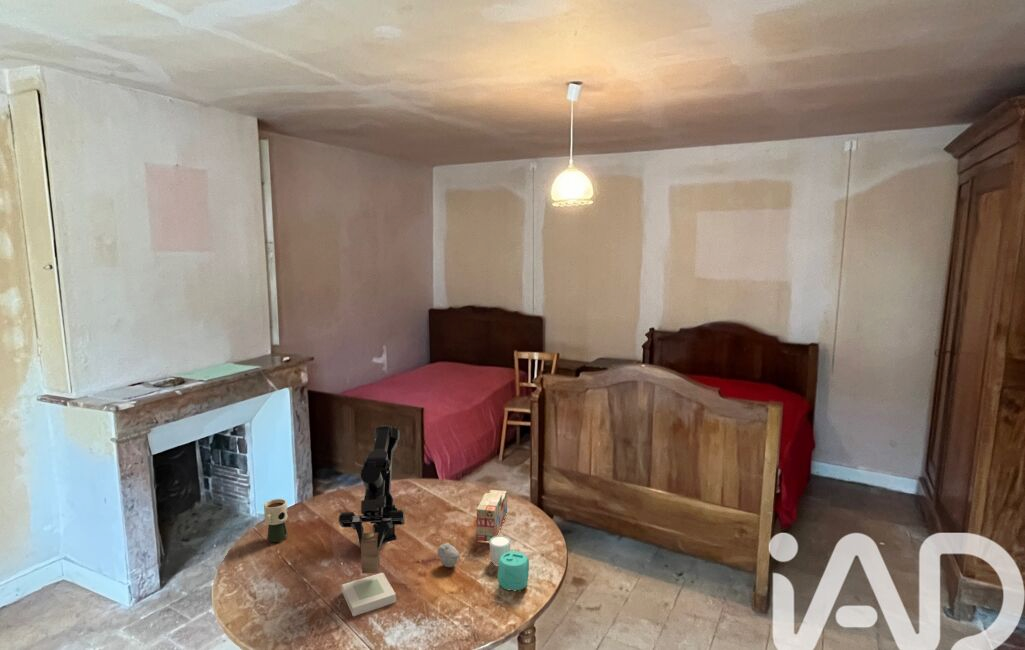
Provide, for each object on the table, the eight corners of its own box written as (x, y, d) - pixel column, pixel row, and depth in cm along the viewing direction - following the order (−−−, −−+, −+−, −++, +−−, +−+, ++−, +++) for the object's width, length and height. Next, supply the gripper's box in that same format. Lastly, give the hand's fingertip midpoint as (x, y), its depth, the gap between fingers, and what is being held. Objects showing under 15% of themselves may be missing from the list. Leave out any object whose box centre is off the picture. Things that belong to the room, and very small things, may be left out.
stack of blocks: (490, 513, 208) (490, 481, 206) (507, 514, 207) (507, 483, 205) (476, 543, 187) (476, 508, 185) (494, 544, 186) (494, 510, 184)
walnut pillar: (364, 564, 164) (363, 531, 163) (379, 564, 165) (378, 530, 163) (362, 573, 160) (360, 539, 159) (377, 572, 161) (376, 538, 159)
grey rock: (444, 558, 178) (444, 537, 177) (463, 563, 175) (463, 542, 174) (433, 568, 172) (433, 547, 171) (453, 573, 169) (452, 552, 168)
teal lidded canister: (524, 593, 160) (524, 567, 159) (497, 590, 162) (497, 564, 160) (529, 576, 168) (529, 552, 167) (503, 574, 169) (502, 549, 168)
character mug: (279, 548, 184) (277, 511, 182) (259, 547, 184) (256, 510, 182) (295, 531, 195) (293, 496, 193) (275, 530, 195) (273, 495, 193)
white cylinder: (514, 558, 178) (514, 538, 177) (505, 569, 171) (505, 548, 170) (495, 553, 180) (495, 533, 179) (485, 564, 174) (485, 543, 173)
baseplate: (383, 580, 166) (382, 572, 166) (396, 602, 156) (395, 593, 156) (342, 592, 160) (341, 584, 160) (353, 616, 150) (352, 607, 150)
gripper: (338, 487, 163) (331, 542, 154) (402, 484, 165) (399, 538, 156) (345, 500, 172) (339, 553, 163) (406, 497, 174) (403, 549, 165)
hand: (369, 548), depth 161 cm, fingers closed on walnut pillar, 4 cm apart
